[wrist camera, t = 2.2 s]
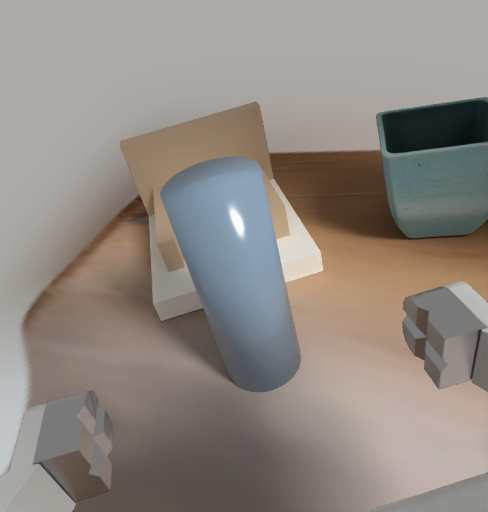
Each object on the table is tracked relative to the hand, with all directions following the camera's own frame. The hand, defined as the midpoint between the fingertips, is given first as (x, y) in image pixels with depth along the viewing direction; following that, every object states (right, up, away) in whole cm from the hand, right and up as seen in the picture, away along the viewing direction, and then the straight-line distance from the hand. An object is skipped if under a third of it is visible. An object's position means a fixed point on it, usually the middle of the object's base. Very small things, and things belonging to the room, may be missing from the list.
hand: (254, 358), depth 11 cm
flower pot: (+16, +6, +27) cm, 32 cm away
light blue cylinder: (+1, -5, +19) cm, 19 cm away
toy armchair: (-2, +4, +31) cm, 31 cm away
